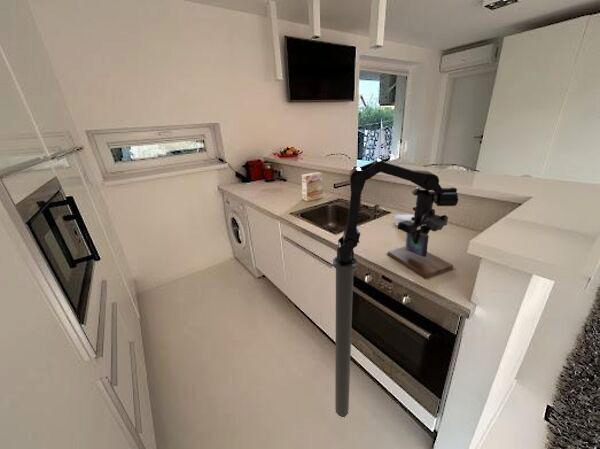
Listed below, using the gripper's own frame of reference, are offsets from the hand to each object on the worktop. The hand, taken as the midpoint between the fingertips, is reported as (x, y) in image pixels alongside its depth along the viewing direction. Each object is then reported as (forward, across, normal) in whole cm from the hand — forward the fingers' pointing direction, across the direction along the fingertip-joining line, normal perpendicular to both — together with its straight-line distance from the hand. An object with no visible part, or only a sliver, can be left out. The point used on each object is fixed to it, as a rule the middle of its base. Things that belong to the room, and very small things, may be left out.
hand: (418, 242), depth 98 cm
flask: (+5, 0, 0) cm, 5 cm away
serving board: (+8, 0, -1) cm, 8 cm away
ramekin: (+8, +23, +30) cm, 39 cm away
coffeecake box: (+8, +3, +105) cm, 105 cm away
